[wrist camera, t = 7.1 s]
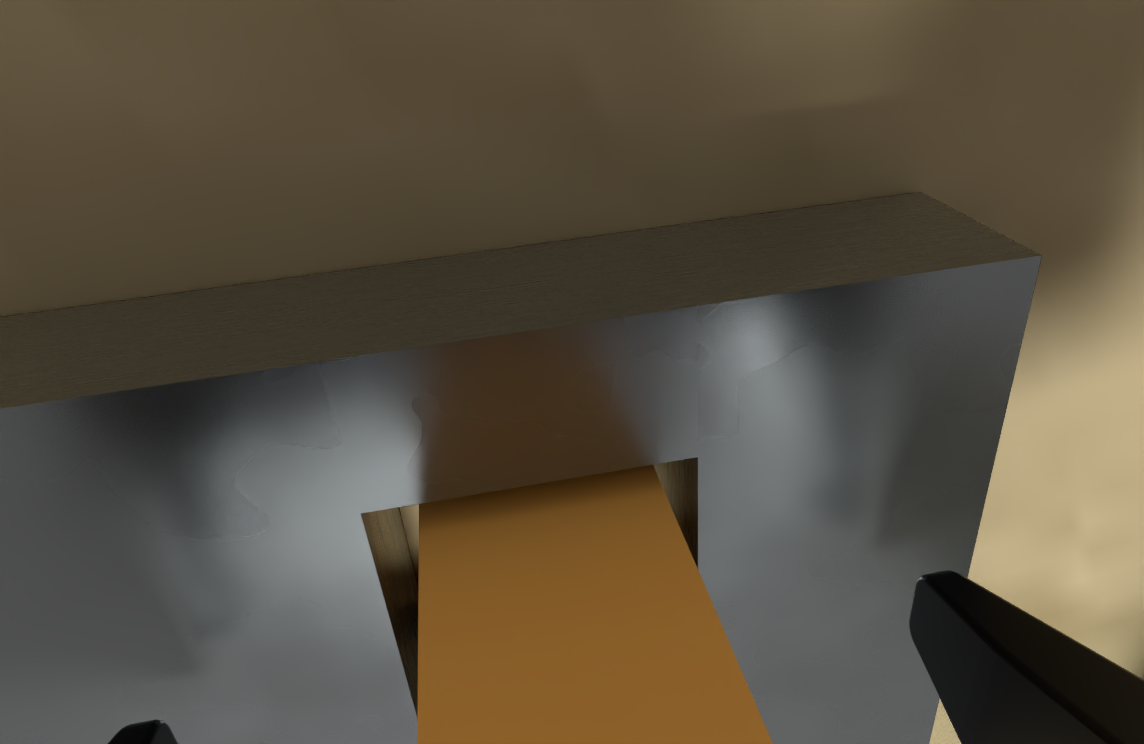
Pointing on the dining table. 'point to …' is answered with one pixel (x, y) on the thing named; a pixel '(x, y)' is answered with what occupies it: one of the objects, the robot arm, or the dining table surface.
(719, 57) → the dining table surface
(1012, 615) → the robot arm
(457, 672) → the tan rectangular box
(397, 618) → the gray slab with hole
